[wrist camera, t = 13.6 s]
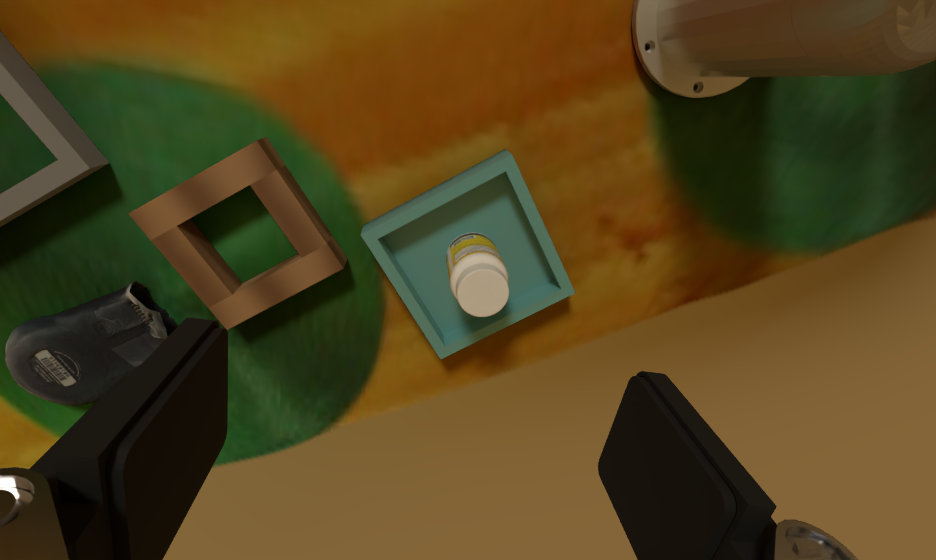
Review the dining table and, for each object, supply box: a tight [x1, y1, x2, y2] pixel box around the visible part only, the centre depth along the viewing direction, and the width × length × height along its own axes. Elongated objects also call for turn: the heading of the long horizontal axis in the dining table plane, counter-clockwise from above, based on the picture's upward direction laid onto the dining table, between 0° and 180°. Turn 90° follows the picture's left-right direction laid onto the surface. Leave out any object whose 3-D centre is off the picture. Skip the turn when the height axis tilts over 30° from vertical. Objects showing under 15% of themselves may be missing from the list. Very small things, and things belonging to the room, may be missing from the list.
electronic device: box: [5, 281, 178, 406], centre depth 43 cm, size 9×6×15 cm
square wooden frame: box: [129, 137, 348, 330], centre depth 40 cm, size 12×12×2 cm
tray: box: [361, 149, 575, 359], centre depth 43 cm, size 14×14×3 cm
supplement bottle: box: [446, 232, 509, 317], centre depth 39 cm, size 5×5×8 cm
